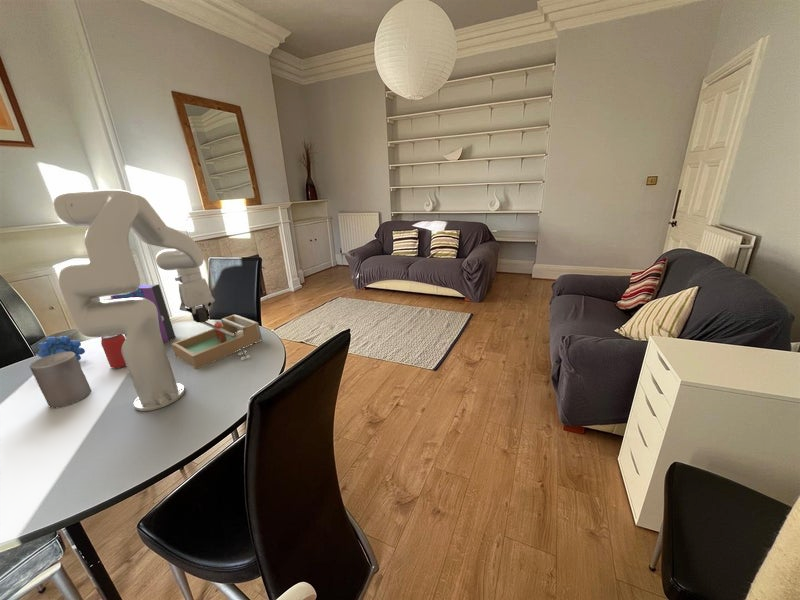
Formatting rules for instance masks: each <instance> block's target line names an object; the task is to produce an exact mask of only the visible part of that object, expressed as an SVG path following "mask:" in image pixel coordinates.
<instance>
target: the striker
mask: <svg viewBox="0 0 800 600" xmlns="http://www.w3.org/2000/svg"><path fill="white" fill-rule="evenodd" d="M195 309H196V313H198V316H199V320H200V322H199V323H200V324H203V325H204V326H207V327H208V328H211V329H215V333H216V337H217V340H218V341H219V342H221V343H222V342H225V341H227V340H226V336H225V334H227V335H229V336H231V337H236V334H233V333H231V332H228V331H226V330H224V329H222V328H221V327H222V326H223V325H222V322H220V321H217V322H215V323H214V324H213V323H210V322H207V321H209V319H208V318H207V314H206V310H205V307H204V306H202V305H199V306H196V307H195Z"/></svg>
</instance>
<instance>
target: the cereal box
mask: <svg viewBox="0 0 800 600" xmlns="http://www.w3.org/2000/svg"><path fill="white" fill-rule="evenodd" d="M125 298H145V299H148V300H150V301H152V302H153V303H154V304H155V306H156V308H157V312H158V322H159V329H160V333H161V337H162V340H163V343H169V342H170V340H171V339H172V340H174V339H175V338H176V334H175V331H174V328H173V325H172V322H171V318H170V315H169V312H168V309H167V305H166V302H165V300H164V296H163V293H162V290H161V286H160V284H140V287H139V288H138V290H136V291H135V292H132V293H128V294H123V295H115V296H110V299H111V300H115V299H125ZM124 337H125V338H126V335H125V334H124ZM174 337H175V338H174ZM173 338H174V339H173ZM172 340H171V341H172ZM168 341H169V342H168Z"/></svg>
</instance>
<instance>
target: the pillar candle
mask: <svg viewBox="0 0 800 600" xmlns="http://www.w3.org/2000/svg"><path fill="white" fill-rule="evenodd" d="M29 369H30V371H31V373H32V374H33V377H34V379H35V381H36V383H37V385H38V387H39V390H40V391H41V393H42V395H43V397H44V398H45V399H44V400H45V401H46V403H47V405H48V407H49V406H50V407H49V408H51V407H54V408H53V409H56V408H55V407H59V408H63V406H64V407H67V406H71V405H73V404H76V403H79V402H80V401H81V400H83V399H85V398H86V397H87V395H88V396H89V395H90V394H91V393H90V392H92V389H91V387H90V385H89V382H88V380H87V377H86V375H85V374H84V372H83V369H82V366H81V364H80V361H78V360H77V357H76V355H75V353H74V352H61V353H56V354H52V355H49V356H46V357H43V358H41V357H40V358H39V359H37V360H35V361H33V362H31V364H30V365H29ZM89 393H90V394H89Z"/></svg>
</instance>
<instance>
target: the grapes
mask: <svg viewBox="0 0 800 600" xmlns="http://www.w3.org/2000/svg"><path fill="white" fill-rule="evenodd" d="M81 345H82V342H81V341H79V340H77V339H72V340H71V338H70V337H69V336H67V335H61V336H59V337H58V338H57V337H55V336H47V338H46V339H45V342H44V341H43V342H39V343H38V344H37V346H36V347H37V348H38V350H40V351H37V357H39V358H40V359H41V358H43V357H46V356H49V355H52V354H56V353H61V352H74V353H75V355H76V357H77V360H78V362H80V360H82V356H83V354H85V352H86V350H85V349H84V348H83V347H81ZM81 355H82V356H81Z"/></svg>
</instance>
